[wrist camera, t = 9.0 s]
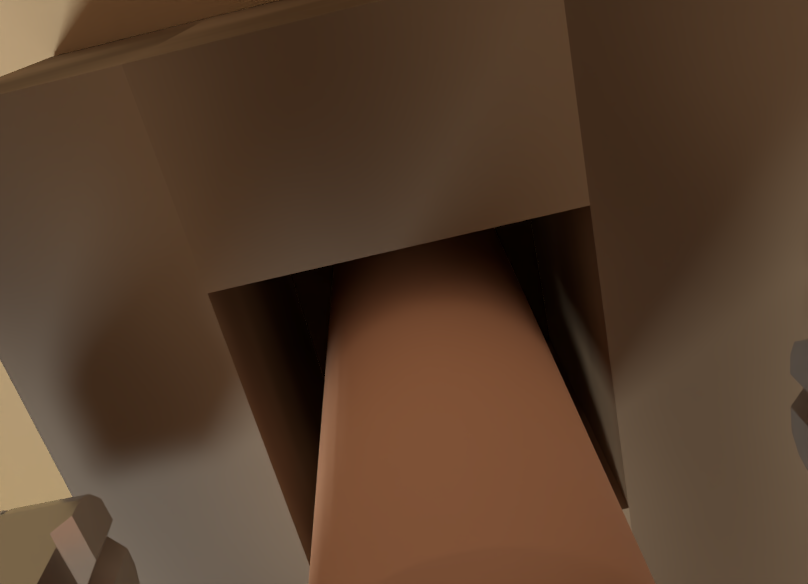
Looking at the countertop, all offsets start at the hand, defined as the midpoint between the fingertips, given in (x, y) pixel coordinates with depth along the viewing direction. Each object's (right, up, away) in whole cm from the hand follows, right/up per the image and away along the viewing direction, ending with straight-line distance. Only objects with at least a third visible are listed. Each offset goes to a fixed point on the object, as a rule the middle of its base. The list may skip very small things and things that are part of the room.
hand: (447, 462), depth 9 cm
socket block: (0, +3, +5) cm, 6 cm away
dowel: (0, +3, +6) cm, 6 cm away
